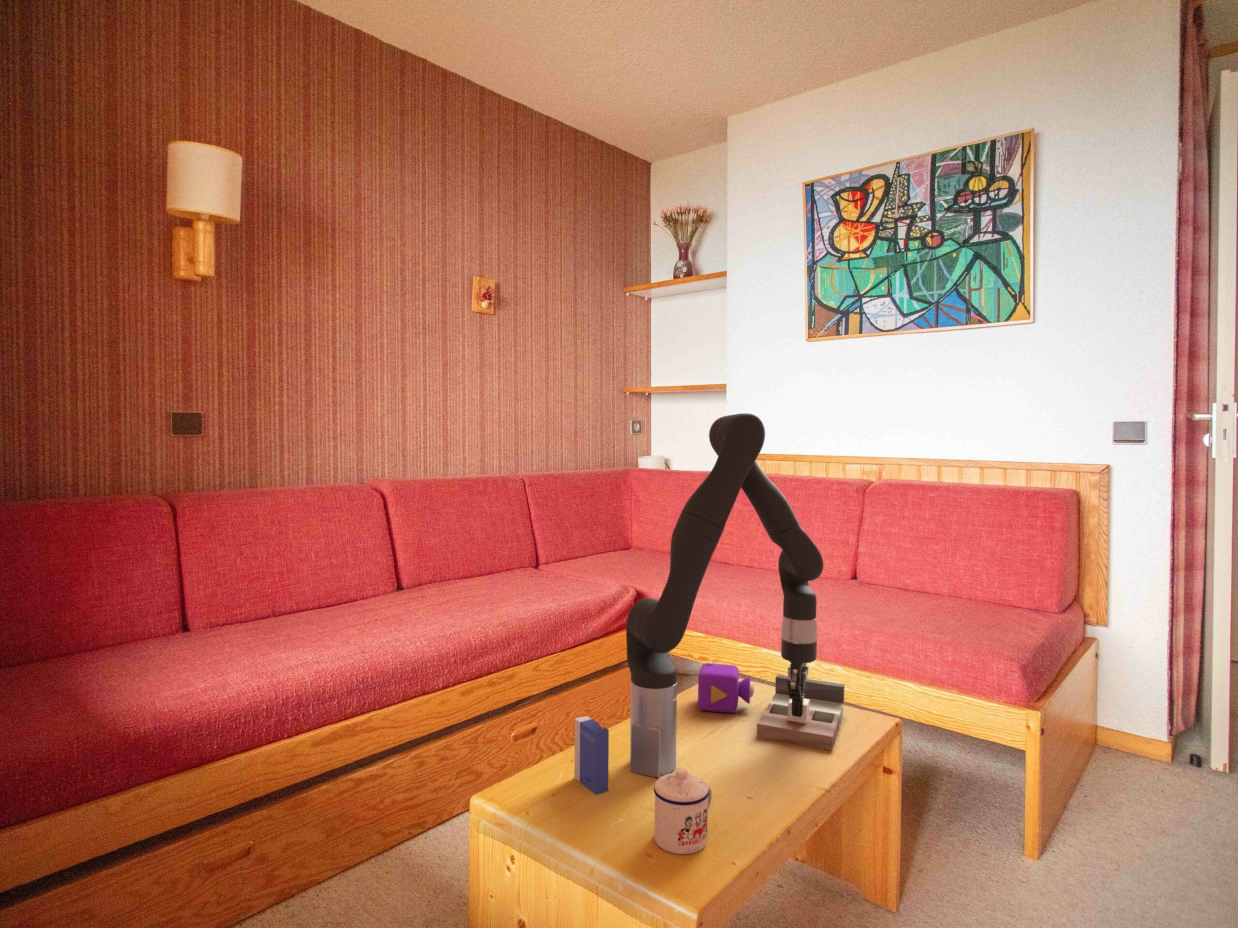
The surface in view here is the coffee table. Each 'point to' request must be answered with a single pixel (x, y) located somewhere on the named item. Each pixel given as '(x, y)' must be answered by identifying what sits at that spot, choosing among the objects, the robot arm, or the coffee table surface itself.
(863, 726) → the coffee table surface
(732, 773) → the coffee table surface
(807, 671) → the robot arm
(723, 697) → the toy camera
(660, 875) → the coffee table surface
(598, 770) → the walkman
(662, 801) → the teacup with lid
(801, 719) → the block
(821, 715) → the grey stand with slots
